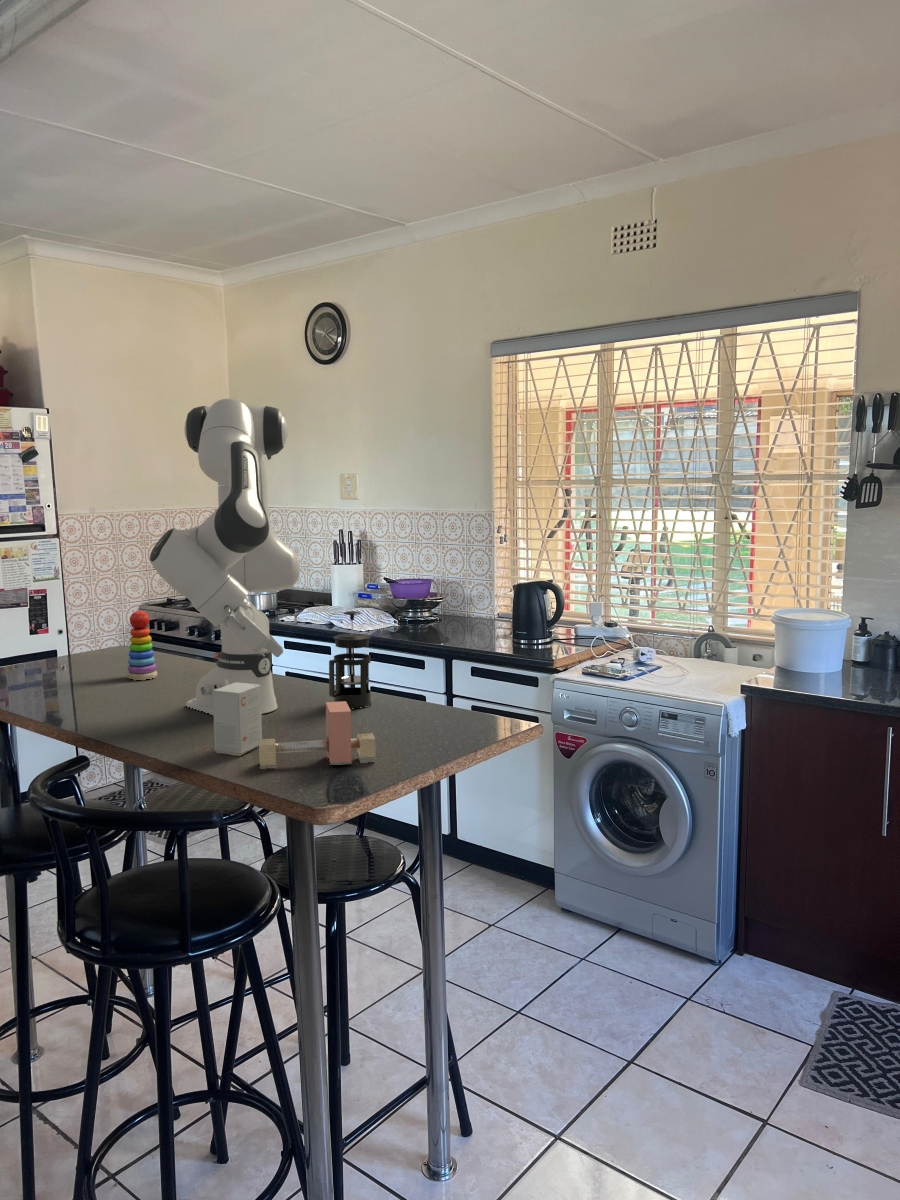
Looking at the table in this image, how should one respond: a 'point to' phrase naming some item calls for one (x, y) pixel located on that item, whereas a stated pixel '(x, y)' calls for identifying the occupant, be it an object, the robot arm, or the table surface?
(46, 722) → the table surface
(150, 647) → the stacking toy
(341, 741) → the collar
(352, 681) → the french press
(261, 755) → the pipe rig
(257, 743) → the small box
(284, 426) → the robot arm
